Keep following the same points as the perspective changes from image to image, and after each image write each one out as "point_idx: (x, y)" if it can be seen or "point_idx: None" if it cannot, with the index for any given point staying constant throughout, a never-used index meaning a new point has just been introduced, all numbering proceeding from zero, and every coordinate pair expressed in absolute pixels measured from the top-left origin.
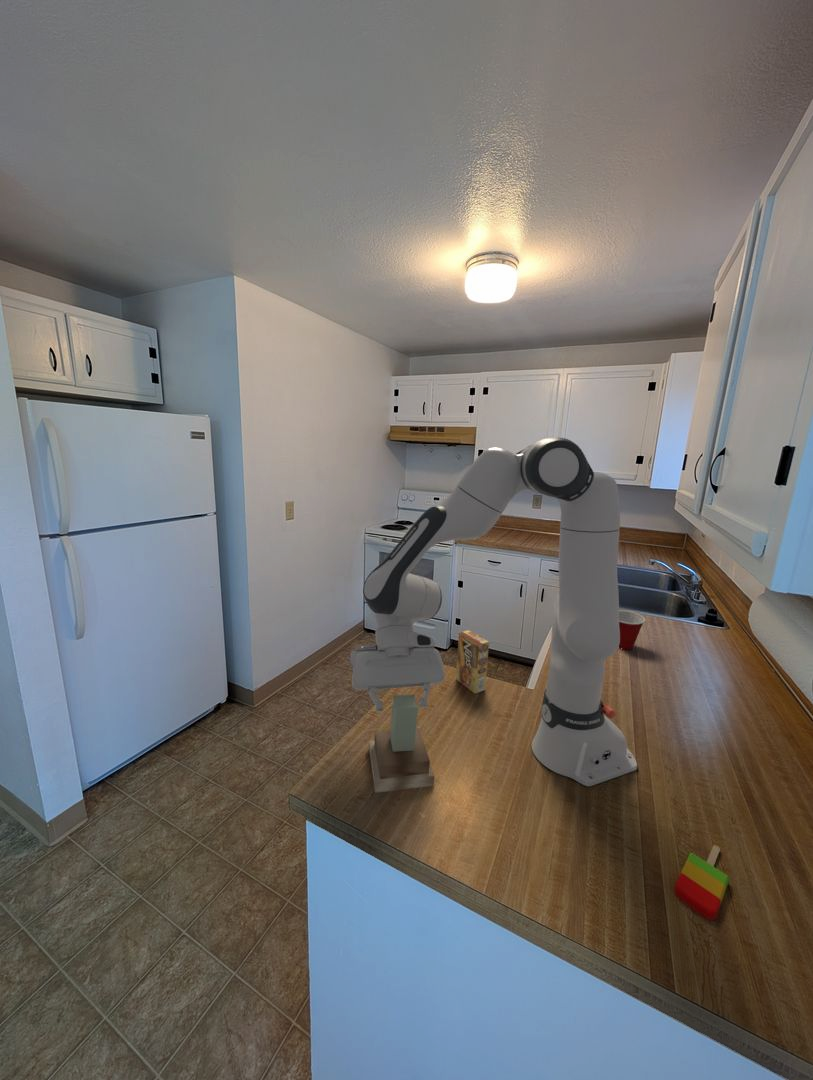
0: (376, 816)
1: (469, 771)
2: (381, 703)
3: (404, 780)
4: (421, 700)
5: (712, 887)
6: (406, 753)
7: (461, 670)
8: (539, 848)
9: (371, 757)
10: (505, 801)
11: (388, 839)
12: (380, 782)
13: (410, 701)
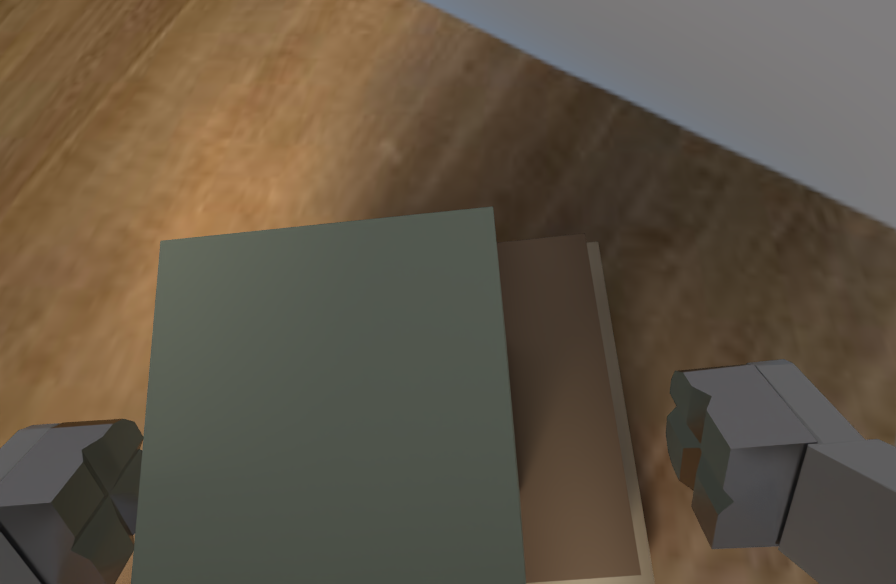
0: (578, 147)
1: (113, 364)
2: (735, 414)
3: None
4: (60, 470)
5: None
6: None
7: None
8: (34, 29)
9: (628, 433)
10: (40, 198)
11: (531, 61)
12: None
13: (236, 393)
